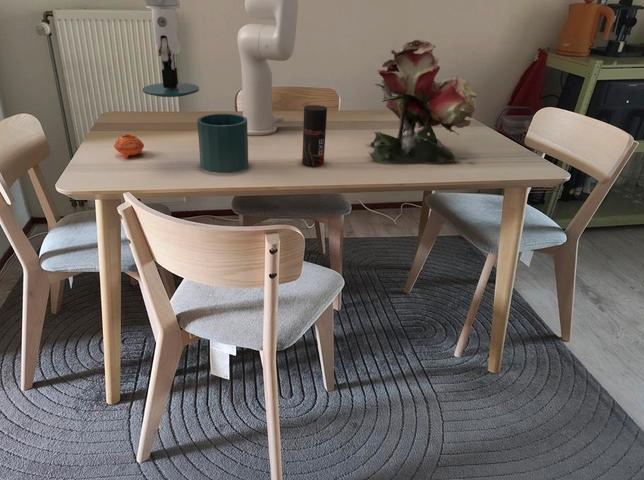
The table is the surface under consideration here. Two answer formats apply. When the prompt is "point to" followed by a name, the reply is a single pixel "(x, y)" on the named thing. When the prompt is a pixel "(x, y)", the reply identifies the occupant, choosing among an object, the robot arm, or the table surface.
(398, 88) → the rose bouquet
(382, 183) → the table surface
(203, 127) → the tin
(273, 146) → the table surface
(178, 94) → the lid
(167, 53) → the robot arm
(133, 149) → the pot
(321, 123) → the deodorant
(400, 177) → the table surface
